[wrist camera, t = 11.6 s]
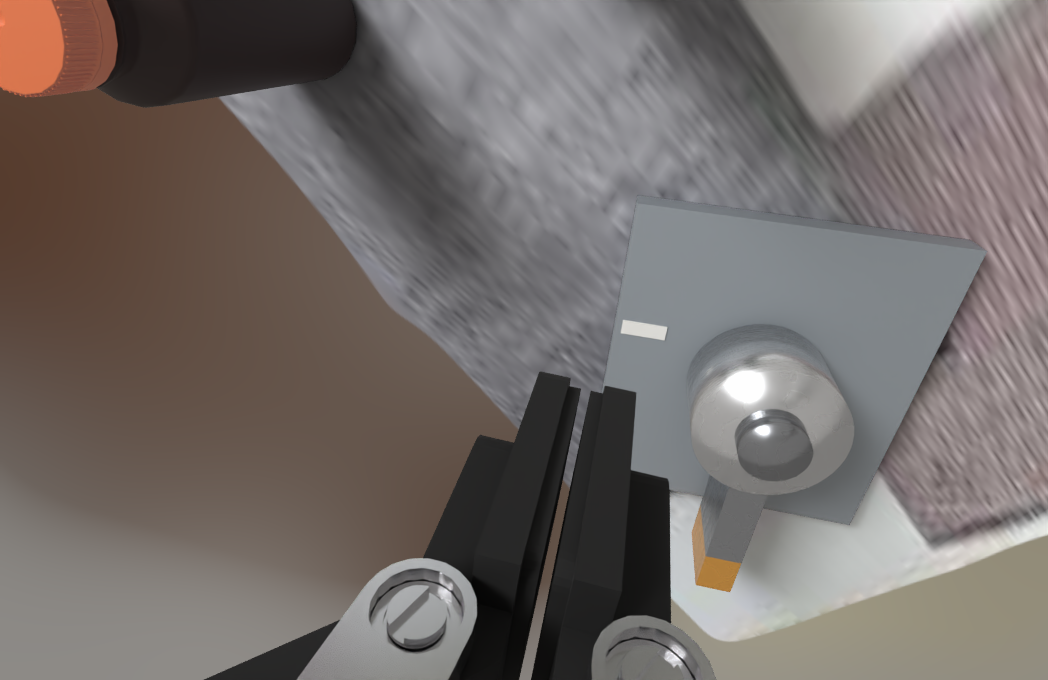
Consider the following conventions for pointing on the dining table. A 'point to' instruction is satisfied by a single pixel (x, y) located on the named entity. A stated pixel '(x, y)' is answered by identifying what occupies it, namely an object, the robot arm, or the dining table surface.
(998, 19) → the dining table surface
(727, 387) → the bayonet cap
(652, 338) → the mounting board
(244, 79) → the bottle
